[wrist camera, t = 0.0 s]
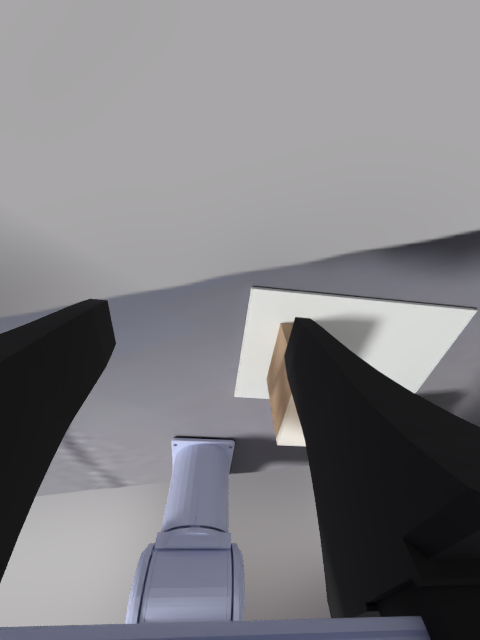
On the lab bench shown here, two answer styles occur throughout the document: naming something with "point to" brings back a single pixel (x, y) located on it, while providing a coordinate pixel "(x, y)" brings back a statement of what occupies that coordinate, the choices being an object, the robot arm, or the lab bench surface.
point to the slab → (283, 394)
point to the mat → (351, 333)
